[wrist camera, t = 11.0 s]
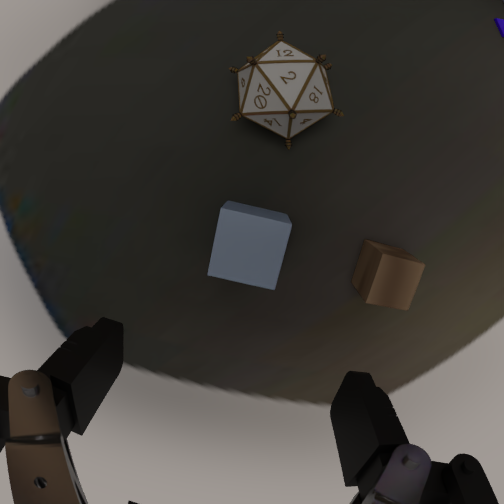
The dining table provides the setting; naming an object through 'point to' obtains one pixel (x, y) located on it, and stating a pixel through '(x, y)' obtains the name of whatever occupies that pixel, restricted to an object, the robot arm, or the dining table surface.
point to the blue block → (249, 244)
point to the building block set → (500, 25)
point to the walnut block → (386, 275)
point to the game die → (284, 90)
